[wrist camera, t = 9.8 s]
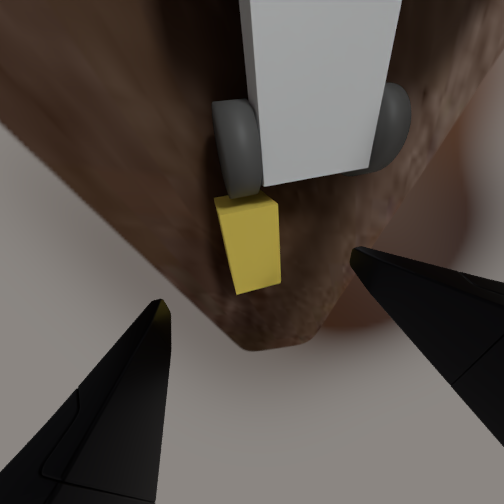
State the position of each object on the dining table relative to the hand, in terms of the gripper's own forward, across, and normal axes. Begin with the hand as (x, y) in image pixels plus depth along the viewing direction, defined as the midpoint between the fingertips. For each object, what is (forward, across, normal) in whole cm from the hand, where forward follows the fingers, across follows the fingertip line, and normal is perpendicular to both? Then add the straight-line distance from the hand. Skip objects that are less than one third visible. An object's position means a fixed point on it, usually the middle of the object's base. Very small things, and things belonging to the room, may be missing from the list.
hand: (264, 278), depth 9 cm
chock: (+12, -1, +3) cm, 12 cm away
